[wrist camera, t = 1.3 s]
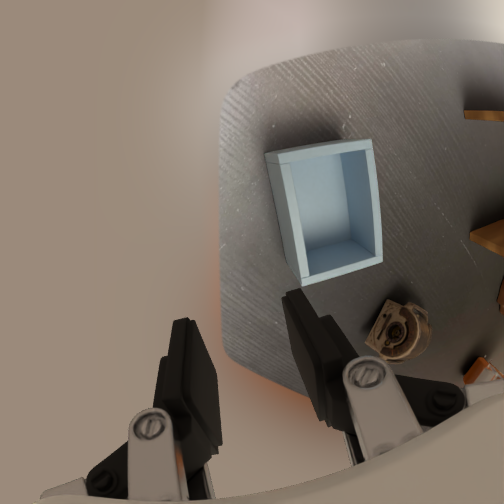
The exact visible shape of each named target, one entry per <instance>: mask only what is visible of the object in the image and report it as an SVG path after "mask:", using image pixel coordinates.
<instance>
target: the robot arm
mask: <svg viewBox="0 0 504 504" xmlns="http://www.w3.org/2000/svg"><path fill="white" fill-rule="evenodd" d="M282 304H283V309H284V314H285V319H286V324H287V329H288V334H289V339H290V344H291V349H292V353H293V357H294V359H295V362H296V364H297V367H298V369H299V372H300V374H301V377H302V379H303V382H304V384H305V387H306V389H307V392H308V394H309V397H310V399H311V402H312V404H313V407H314V409H315V412H316V414H317V417H318V419H319V421H323V420H325V422H326V424H327V426H328V427H330V426H332V427H333V428H334V429H337V430H340V431H342V433H343V437H344V440H345V444H346V448H347V452H348V456H349V460H350V464H351V467H350V468H348V469H344V470H342V471H339V472H336V473H333V474H330V475H327V476H324V477H321V478H318V479H314V480H311V481H307V482H304V483H300V484H297V485H293V486H289V487H285V488H280V489H276V490H271V491H266V492H261V493H256V494H250V495H244V496H236V497H229V498H220V499H216V497H215V494H214V489H213V486H212V481H211V477H210V473H209V468H208V465H207V461H209V460H210V459H211V455H214V454H219V452H218V446H221V445H222V444H223V443H222V432H221V420H220V407H219V395H218V383H217V382H218V380H217V373H216V370H215V368H214V365H213V363H212V360H211V358H210V356H209V354H208V351H207V349H206V346H205V344H204V342H203V339H202V337H201V334H200V332H199V329H198V327H197V325H196V322H195V320H190V319H189V318H188V317H187V318H182V319H178V320H175V321H174V322H173V326H172V332H171V338H170V344H169V350H168V356H164V357H162V358H161V360H160V365H159V371H158V377H157V383H156V390H155V396H154V402H153V408H148V409H145V410H143V411H141V412H139V413H138V414H137V415H136V416H135V417H134V418H133V419H132V421H131V422H130V425H129V433H128V441H127V442H126V443H125V444H123V445H122V446H121V447H120V448H118V449H117V450H116V451H114V452H113V453H112V454H111V455H110V456H108V457H107V458H106V459H104V460H103V461H102V462H100V463H99V464H98V465H96V466H95V467H94V468H93V469H92V470H91V471H90V472H89V474H88V476H87V478H86V479H84V478H83V477H81V478H79V479H76V480H73V481H71V482H68V483H66V484H63V485H60V486H57V487H54V488H51V489H48V490H46V491H44V492H43V494H42V495H41V496H40V500H38V501H36V502H34V503H33V504H504V378H502V379H497V380H492V381H486V382H480V383H473V384H466V385H464V387H463V388H459V387H457V386H456V385H454V384H451V383H447V382H440V381H432V380H426V379H419V378H413V377H407V376H401V375H396V374H394V373H393V371H392V369H391V368H390V366H389V365H388V363H387V362H386V361H385V360H383V359H381V358H379V357H376V356H362V357H359V356H358V354H357V353H356V351H355V350H354V348H353V347H352V345H351V344H350V342H349V341H348V339H347V338H346V336H345V335H344V333H343V332H342V331H341V329H340V328H339V326H338V325H337V323H336V322H335V320H334V319H333V317H332V316H331V315H326V316H323V317H320V318H319V317H318V316H317V314H316V312H315V311H314V309H313V307H312V306H311V304H310V303H309V301H308V299H307V298H306V296H305V295H304V293H303V291H302V290H301V289H300V288H298V289H295V290H291V291H288V292H286V296H284V297H282Z"/></svg>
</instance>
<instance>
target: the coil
mask: <svg viewBox="0 0 504 504" xmlns="http://www.w3.org/2000/svg"><path fill="white" fill-rule="evenodd" d="M485 357H486V355H485ZM485 357H484V358H485ZM484 358H482V357H479V358H478V359H477V360H476V361H475V363H474V364H473V365H472V367H471V368H470V369H469V370H468V372H467V373H466V374H465V376H464V377H463V380H464V383H465V385H466V384H473V383H480V382H486V381H492V380H497V379H502V378H504V375H503V374H501V373H500V372H499V371H498V370H497V369H496V368H495V367H494V366H493V365H492V364H491V363H490V362H491V361H492V359H491V361H490V362H489V363H490V364H489V363H488V362H487V361H486V360H485V359H484Z"/></svg>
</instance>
